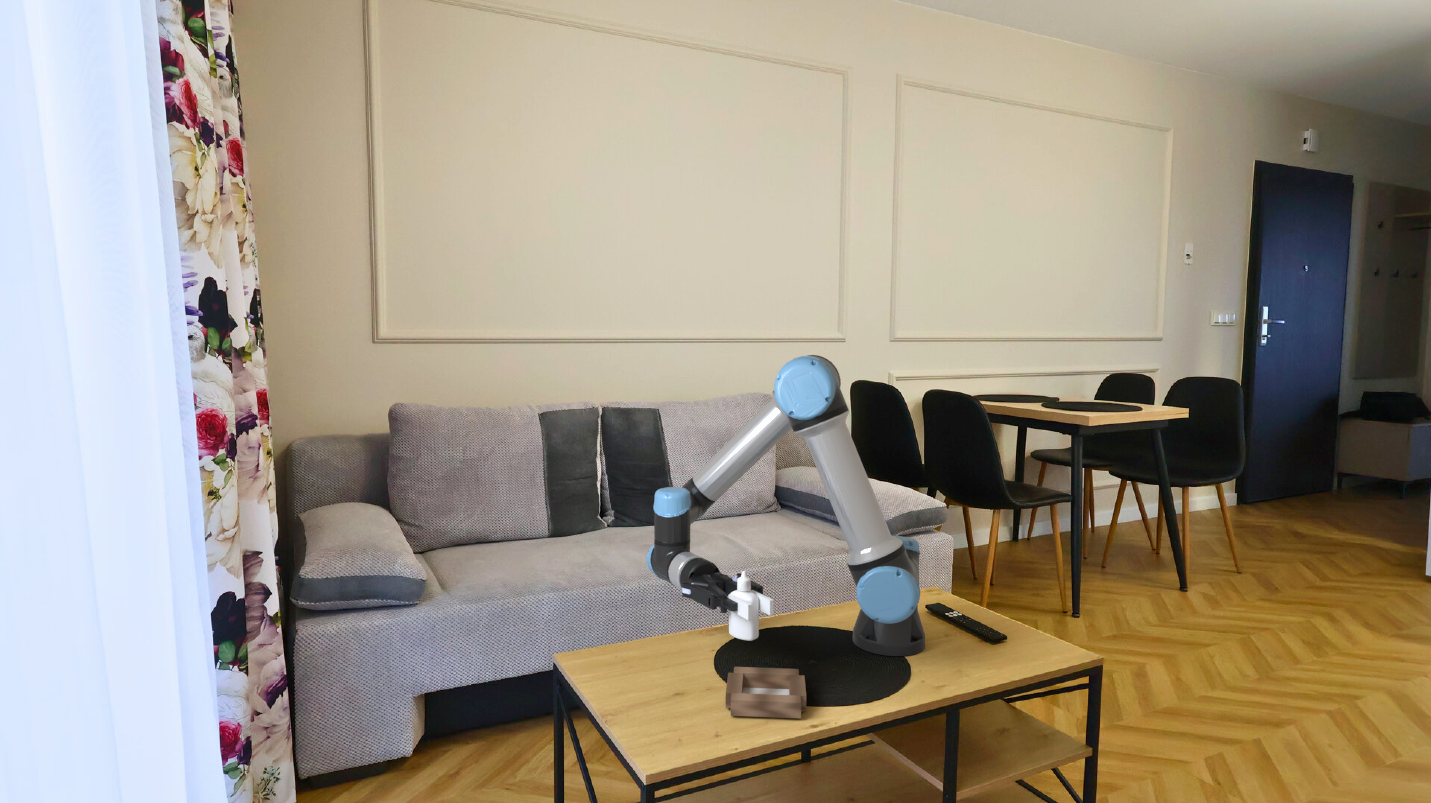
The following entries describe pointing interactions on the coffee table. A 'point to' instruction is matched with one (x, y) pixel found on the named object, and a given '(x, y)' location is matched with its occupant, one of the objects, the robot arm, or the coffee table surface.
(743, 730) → the coffee table surface
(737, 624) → the eye dropper bottle
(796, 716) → the socket block
